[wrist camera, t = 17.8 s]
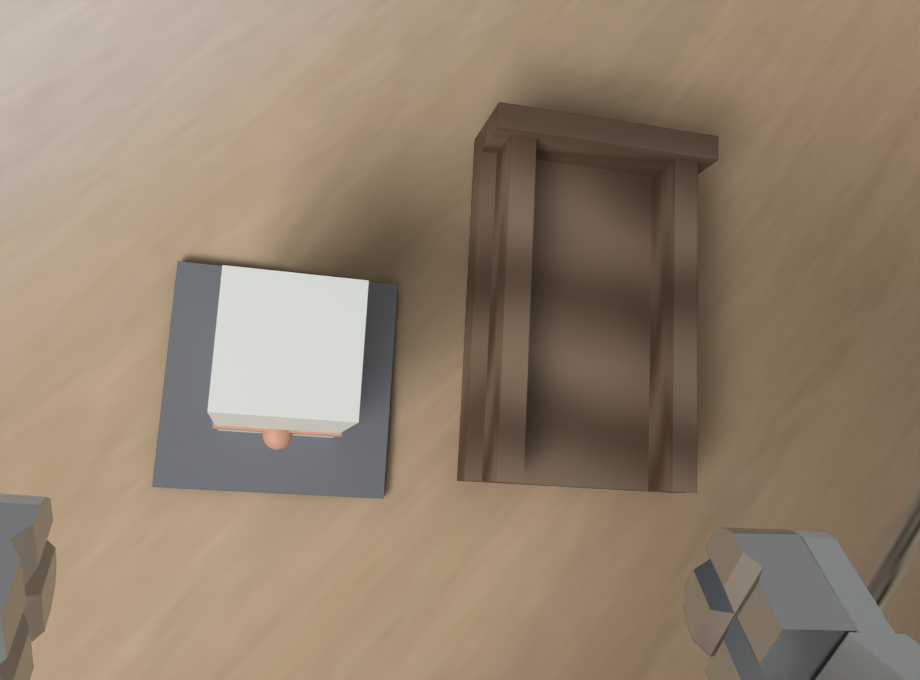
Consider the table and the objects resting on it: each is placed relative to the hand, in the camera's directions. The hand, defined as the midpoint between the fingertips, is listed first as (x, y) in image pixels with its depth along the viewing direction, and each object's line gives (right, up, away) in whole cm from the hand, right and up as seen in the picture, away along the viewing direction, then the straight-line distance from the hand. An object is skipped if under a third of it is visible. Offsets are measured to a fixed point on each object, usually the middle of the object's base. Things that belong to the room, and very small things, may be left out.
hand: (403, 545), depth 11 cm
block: (-7, +1, +28) cm, 29 cm away
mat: (-7, +1, +29) cm, 30 cm away
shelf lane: (+6, +4, +33) cm, 34 cm away
